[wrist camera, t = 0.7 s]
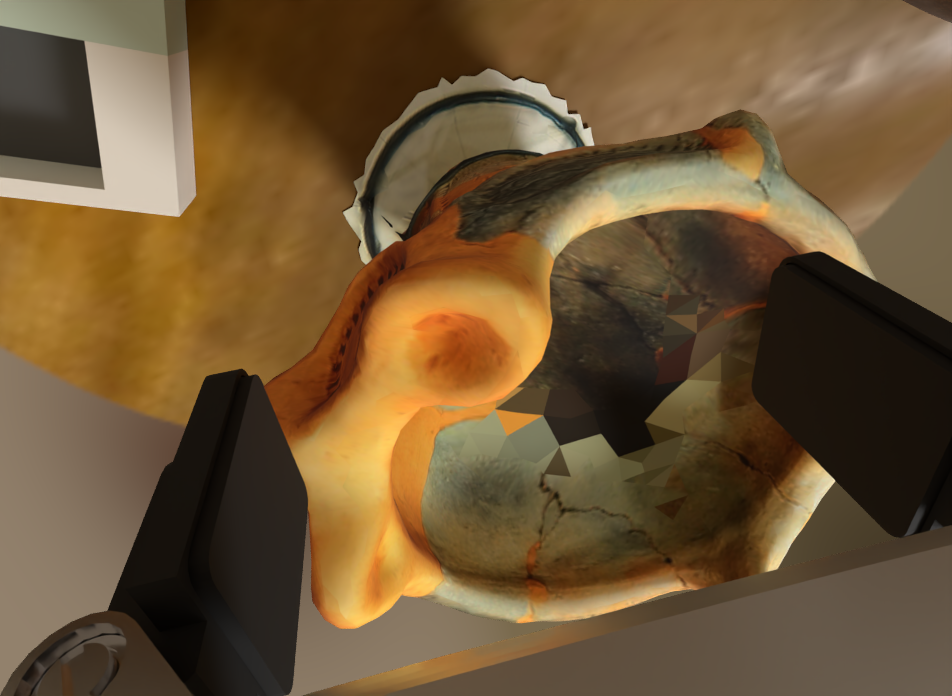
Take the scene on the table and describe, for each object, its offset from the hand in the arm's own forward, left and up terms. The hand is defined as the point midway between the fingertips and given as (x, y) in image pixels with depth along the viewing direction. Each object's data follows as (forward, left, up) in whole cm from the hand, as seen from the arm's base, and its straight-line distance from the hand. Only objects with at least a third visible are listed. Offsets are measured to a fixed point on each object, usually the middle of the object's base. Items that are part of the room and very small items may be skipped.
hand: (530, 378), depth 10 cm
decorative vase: (+6, +6, -29) cm, 30 cm away
